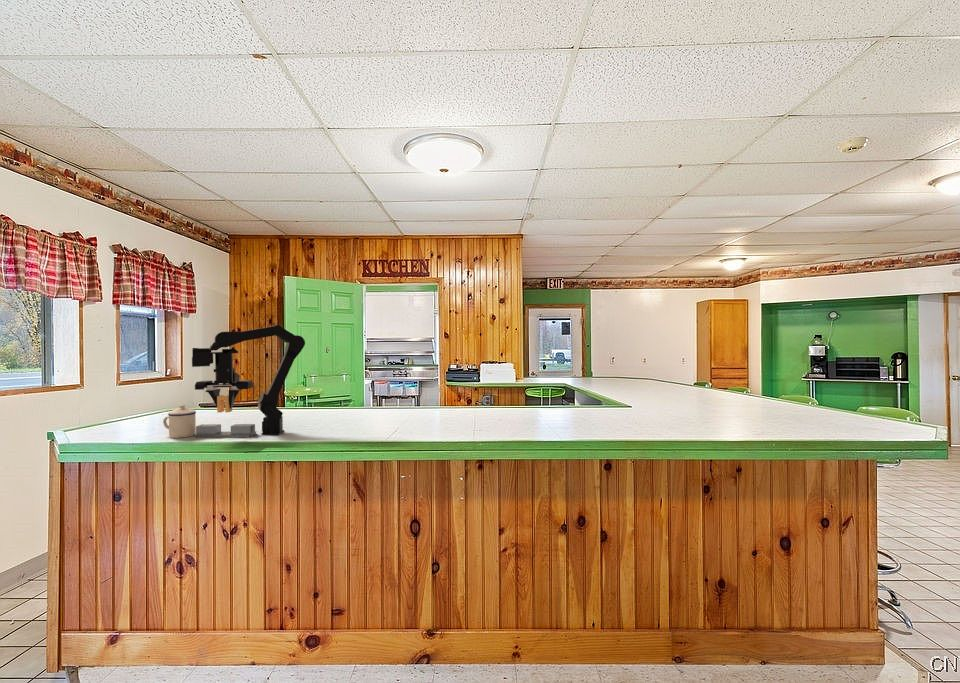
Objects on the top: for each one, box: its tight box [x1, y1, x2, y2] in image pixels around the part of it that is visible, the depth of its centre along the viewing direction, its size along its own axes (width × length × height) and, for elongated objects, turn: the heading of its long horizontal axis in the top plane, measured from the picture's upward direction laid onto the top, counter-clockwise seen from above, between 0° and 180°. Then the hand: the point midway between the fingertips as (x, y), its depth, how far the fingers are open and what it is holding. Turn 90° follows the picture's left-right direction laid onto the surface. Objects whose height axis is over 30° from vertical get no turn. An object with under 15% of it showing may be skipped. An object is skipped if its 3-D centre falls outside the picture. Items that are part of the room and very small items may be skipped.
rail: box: [194, 423, 257, 439], centre depth 188 cm, size 20×6×4 cm, turn 91°
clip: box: [216, 394, 233, 414], centre depth 183 cm, size 4×3×6 cm
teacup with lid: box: [162, 404, 197, 439], centre depth 188 cm, size 12×9×12 cm
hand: (224, 408), depth 183 cm, fingers closed on clip, 4 cm apart
